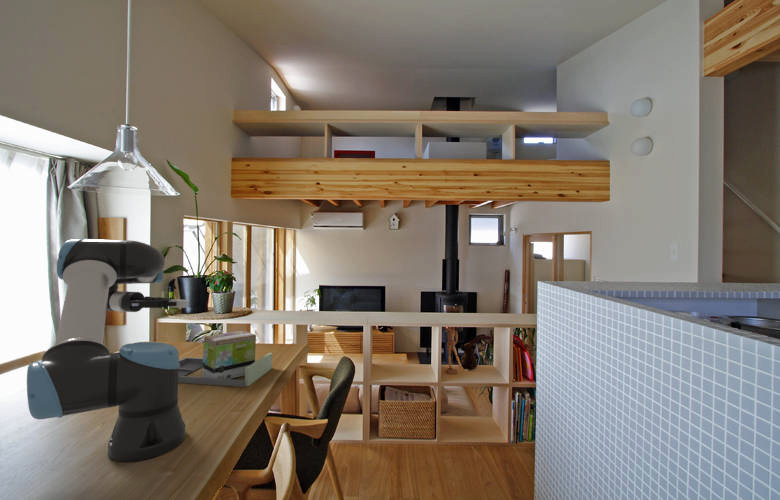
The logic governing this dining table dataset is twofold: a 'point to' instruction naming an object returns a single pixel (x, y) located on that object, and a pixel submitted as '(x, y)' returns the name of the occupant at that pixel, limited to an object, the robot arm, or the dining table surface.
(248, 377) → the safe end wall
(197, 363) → the channel
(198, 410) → the dining table surface
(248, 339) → the tea box
